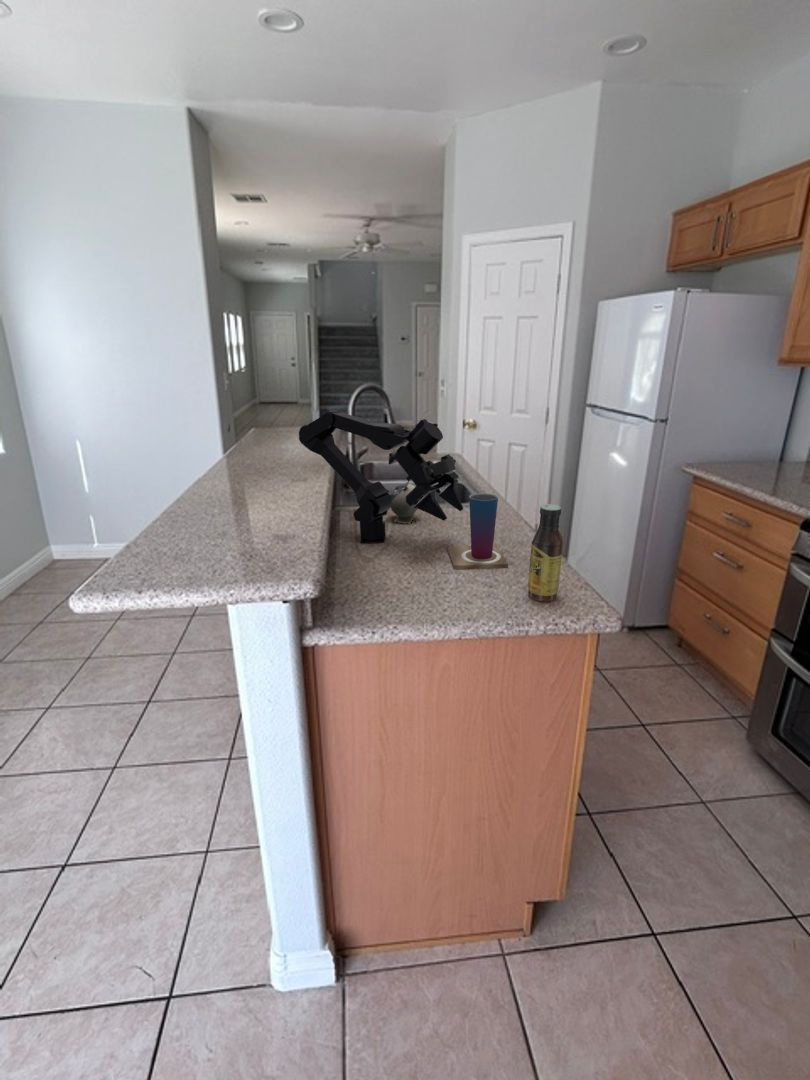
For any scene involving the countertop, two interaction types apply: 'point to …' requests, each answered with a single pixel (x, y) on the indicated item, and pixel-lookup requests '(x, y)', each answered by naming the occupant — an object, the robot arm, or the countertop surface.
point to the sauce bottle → (546, 556)
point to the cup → (482, 524)
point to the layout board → (464, 559)
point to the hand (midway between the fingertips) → (454, 514)
